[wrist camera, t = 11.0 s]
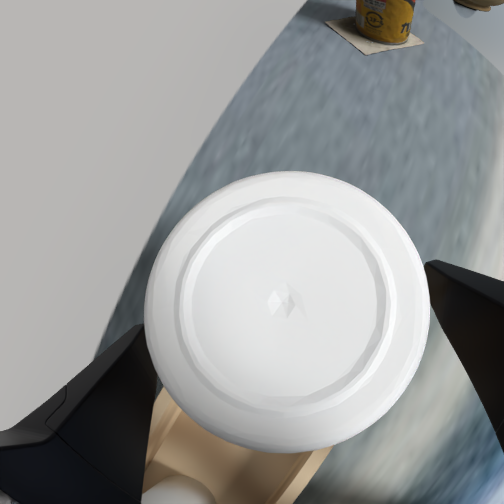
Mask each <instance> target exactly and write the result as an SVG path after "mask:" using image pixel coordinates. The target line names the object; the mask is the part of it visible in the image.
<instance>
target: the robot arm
mask: <svg viewBox="0 0 504 504" xmlns="http://www.w3.org/2000/svg"><path fill="white" fill-rule="evenodd" d="M424 271H425V274H426V278H427V284H428V290H429V296H430V304H431V306H432V308H433V310H434V312H435V315H436V317H437V319H438V321H439V323H440V325H441V327H442V329H443V331H444V333H445V334H446V336H447V338H448V340H449V341H450V343H451V345H452V347H453V348H454V350H455V352H456V354H457V356H458V357H459V359H460V361H461V363H462V365H463V367H464V368H465V370H466V372H467V374H468V376H469V378H470V380H471V382H472V384H473V386H474V388H475V390H476V392H477V394H478V396H479V398H480V400H481V402H482V404H483V406H484V408H485V410H486V413H487V415H488V417H489V419H490V421H491V424H492V426H493V428H494V430H495V432H496V436H497V438H498V440H499V443H500V445H501V448H502V450H503V453H504V281H501V280H498V279H495V278H492V277H489V276H486V275H483V274H480V273H477V272H474V271H471V270H468V269H465V268H462V267H458V266H455V265H452V264H449V263H446V262H443V261H440V260H432V261H429V262H426V263H425V265H424ZM156 387H157V372H156V370H155V368H154V365H153V362H152V359H151V356H150V353H149V350H148V347H147V342H146V335H145V326H144V324H139V325H135V326H134V327H132V328H131V329H130V330H129V331H128V332H127V333H125V334H124V335H123V336H122V337H121V338H120V339H118V340H117V341H116V342H115V343H114V344H112V345H111V346H110V347H109V348H108V349H107V350H105V351H104V352H103V353H102V354H101V355H100V356H98V357H97V358H96V359H95V360H94V361H93V362H91V363H90V364H89V365H88V366H87V367H86V368H85V369H84V370H82V371H81V372H80V373H79V374H78V375H76V376H75V377H74V378H73V379H72V380H71V381H69V382H68V383H67V385H65V386H64V387H63V388H61V389H60V390H59V391H58V392H57V393H56V394H54V395H53V396H52V397H51V398H50V399H48V400H47V401H46V402H45V403H43V404H42V405H41V406H40V407H38V408H37V409H36V410H34V411H33V412H32V413H30V414H29V415H28V416H27V417H25V418H24V419H23V420H21V421H20V422H19V423H17V424H16V425H15V426H13V427H12V428H10V429H8V430H4V431H0V504H141V500H142V490H143V481H144V472H145V463H146V455H147V448H148V440H149V433H150V426H151V420H152V413H153V407H154V400H155V394H156Z"/></svg>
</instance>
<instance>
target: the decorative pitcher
mask: <svg viewBox="0 0 504 504" xmlns="http://www.w3.org/2000/svg"><path fill="white" fill-rule="evenodd" d="M454 1H456V2H458V3H460V4H462V5H464V6H467V7H470V8H473V9H476V10H479V11H490V10H491V7H490V6H496V5H501V4H503V3H504V0H454Z"/></svg>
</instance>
